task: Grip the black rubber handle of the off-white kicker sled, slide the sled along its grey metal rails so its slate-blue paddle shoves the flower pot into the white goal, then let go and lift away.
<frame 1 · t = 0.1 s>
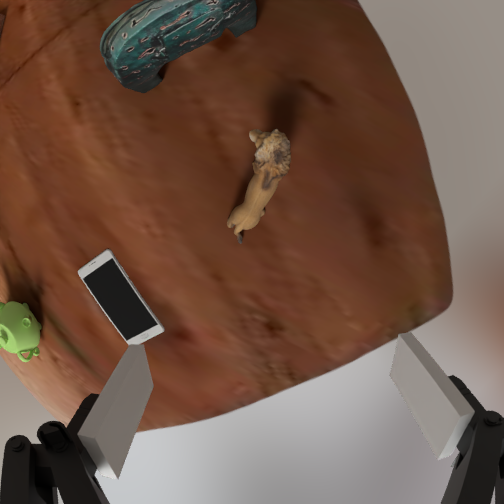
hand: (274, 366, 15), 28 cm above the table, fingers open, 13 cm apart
smartphone: (121, 299, 45), on the table
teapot: (25, 316, 46), on the table
teal arched figure: (198, 50, 35), on the table
lion figurine: (255, 184, 40), on the table
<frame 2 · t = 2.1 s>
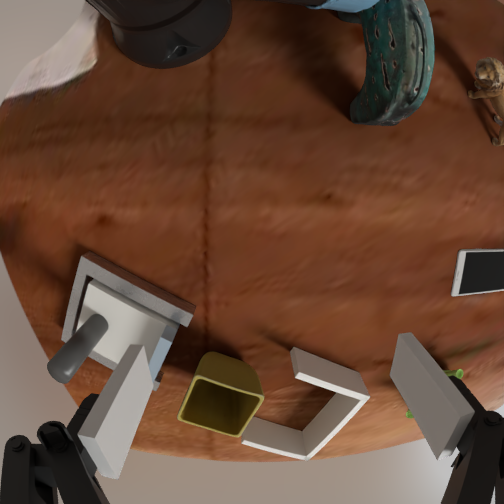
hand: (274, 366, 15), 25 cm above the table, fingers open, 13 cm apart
smartphone: (485, 270, 40), on the table
rail base: (138, 328, 42), on the table
goal: (296, 396, 45), on the table
teal arched figure: (357, 57, 32), on the table
lion figurine: (479, 107, 33), on the table
flower pot: (223, 367, 44), on the table
kicker sled: (109, 353, 34), point 8 cm above the table, slide at 0.0 cm
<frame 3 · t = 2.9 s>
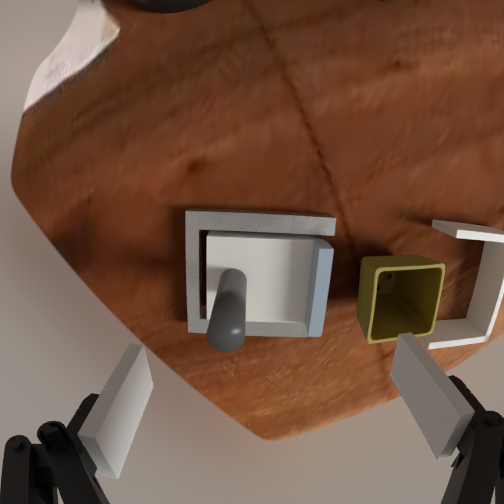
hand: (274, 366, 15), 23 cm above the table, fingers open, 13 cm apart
rail base: (276, 272, 38), on the table
goal: (451, 277, 39), on the table
flower pot: (378, 275, 39), on the table
kicker sled: (266, 298, 31), point 8 cm above the table, slide at 0.0 cm
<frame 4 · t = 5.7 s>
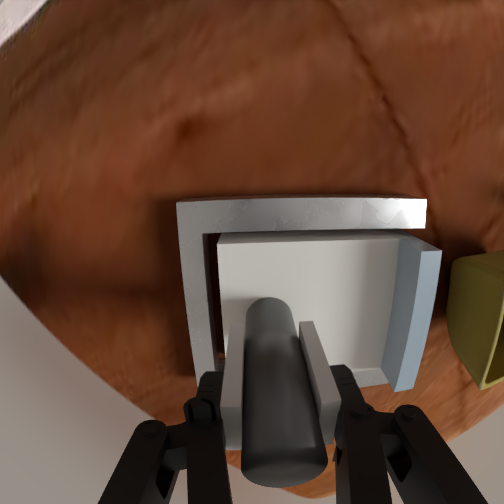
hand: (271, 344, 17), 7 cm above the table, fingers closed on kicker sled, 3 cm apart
rail base: (332, 294, 23), on the table
flower pot: (468, 281, 23), on the table
kicker sled: (338, 351, 16), point 8 cm above the table, slide at 0.0 cm, touching gripper
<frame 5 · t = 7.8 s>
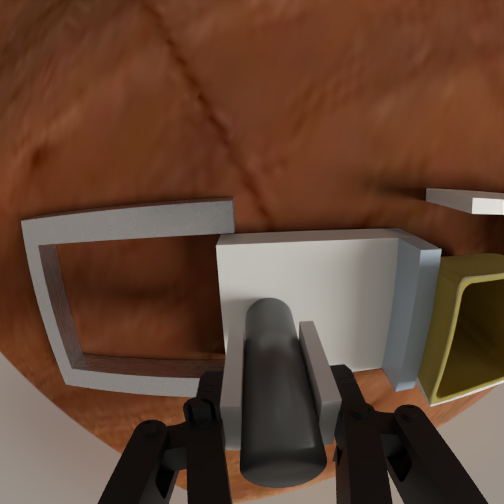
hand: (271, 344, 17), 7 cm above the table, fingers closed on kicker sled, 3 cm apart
rail base: (162, 300, 23), on the table
goal: (467, 281, 23), on the table
flower pot: (433, 286, 23), on the table, touching kicker sled
kicker sled: (338, 351, 16), point 8 cm above the table, slide at 13.0 cm, touching flower pot, gripper
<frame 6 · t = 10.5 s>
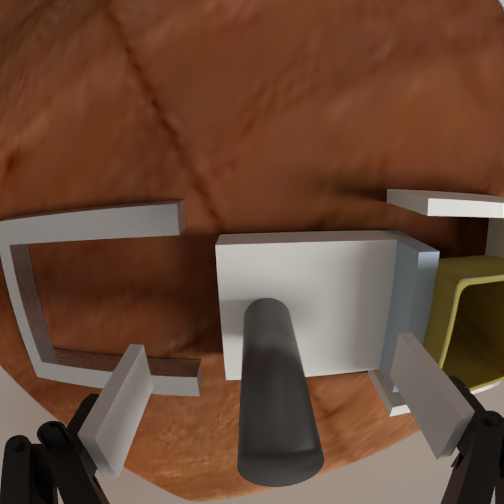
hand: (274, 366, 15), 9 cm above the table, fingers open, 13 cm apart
rail base: (121, 299, 23), on the table
goal: (436, 286, 23), on the table
flower pot: (430, 287, 24), on the table
kicker sled: (335, 351, 16), point 8 cm above the table, slide at 16.4 cm
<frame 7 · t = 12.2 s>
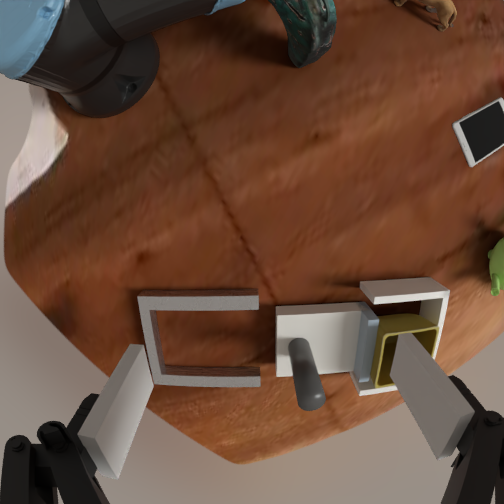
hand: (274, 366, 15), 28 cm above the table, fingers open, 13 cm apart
smartphone: (485, 130, 37), on the table
rail base: (218, 337, 45), on the table
goal: (387, 328, 45), on the table
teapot: (496, 260, 42), on the table
teal arched figure: (271, 16, 34), on the table, touching arm
lion figurine: (410, 8, 33), on the table
flower pot: (384, 328, 45), on the table
kicker sled: (330, 362, 37), point 8 cm above the table, slide at 16.4 cm
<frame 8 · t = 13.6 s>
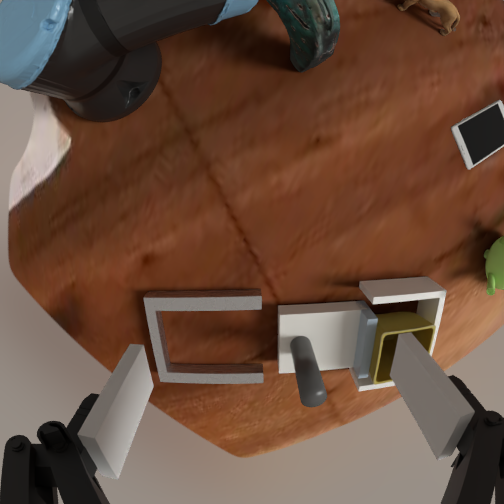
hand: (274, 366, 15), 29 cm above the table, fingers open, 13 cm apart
smartphone: (483, 132, 38), on the table
rail base: (222, 335, 47), on the table
goal: (386, 325, 46), on the table
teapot: (492, 259, 44), on the table
teal arched figure: (273, 19, 34), on the table
lion figurine: (414, 12, 33), on the table
flower pot: (382, 326, 47), on the table
kicker sled: (330, 359, 39), point 8 cm above the table, slide at 16.4 cm
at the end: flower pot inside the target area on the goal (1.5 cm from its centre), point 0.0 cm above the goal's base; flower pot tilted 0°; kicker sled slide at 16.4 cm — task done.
